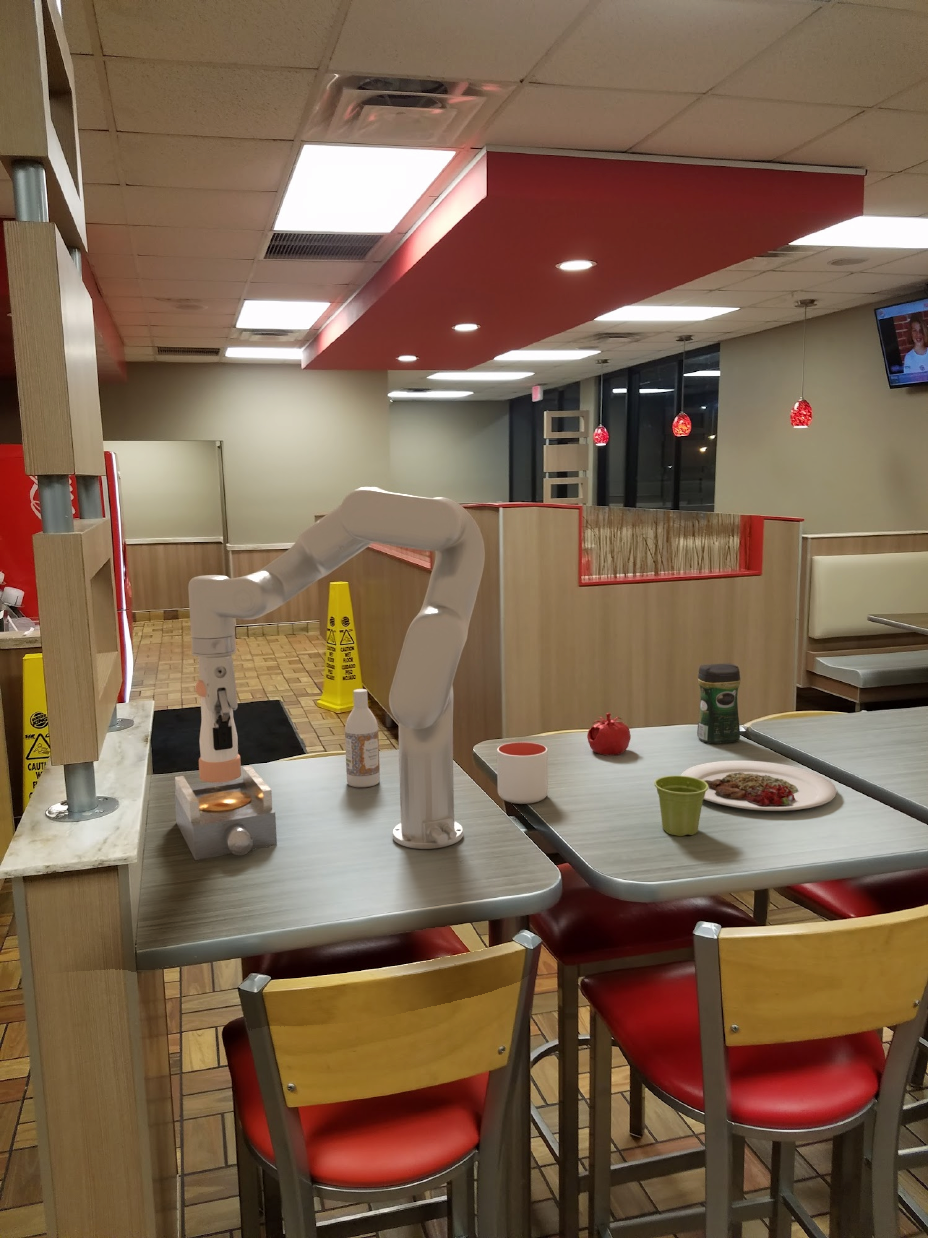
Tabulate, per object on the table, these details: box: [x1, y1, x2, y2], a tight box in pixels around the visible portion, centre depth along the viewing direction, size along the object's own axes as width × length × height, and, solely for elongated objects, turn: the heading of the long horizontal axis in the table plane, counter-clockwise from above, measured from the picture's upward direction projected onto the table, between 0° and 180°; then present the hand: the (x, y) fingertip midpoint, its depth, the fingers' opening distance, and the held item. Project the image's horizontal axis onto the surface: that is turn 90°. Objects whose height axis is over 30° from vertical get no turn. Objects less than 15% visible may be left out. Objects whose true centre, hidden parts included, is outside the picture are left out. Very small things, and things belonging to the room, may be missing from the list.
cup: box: [496, 741, 549, 805], centre depth 184 cm, size 10×10×10 cm
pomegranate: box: [586, 712, 632, 756], centre depth 215 cm, size 10×10×9 cm
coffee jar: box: [696, 662, 741, 744], centre depth 221 cm, size 10×8×19 cm
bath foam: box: [344, 688, 381, 788], centre depth 194 cm, size 7×7×20 cm
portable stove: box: [174, 765, 278, 861], centre depth 166 cm, size 24×14×10 cm, turn 26°
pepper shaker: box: [195, 679, 242, 784], centre depth 166 cm, size 7×7×19 cm
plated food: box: [679, 760, 837, 812], centre depth 186 cm, size 30×30×3 cm
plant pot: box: [653, 775, 708, 837], centre depth 165 cm, size 9×9×9 cm
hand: (219, 743), depth 166 cm, fingers closed on pepper shaker, 6 cm apart
